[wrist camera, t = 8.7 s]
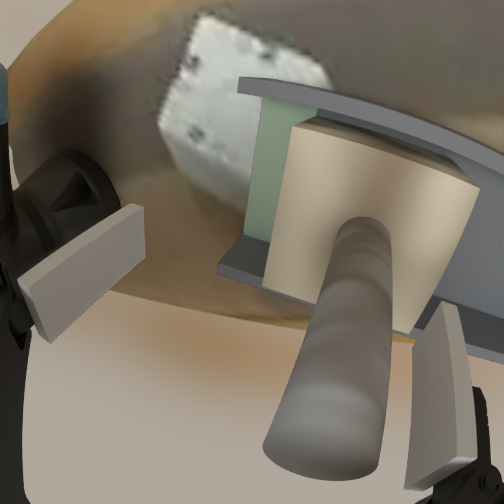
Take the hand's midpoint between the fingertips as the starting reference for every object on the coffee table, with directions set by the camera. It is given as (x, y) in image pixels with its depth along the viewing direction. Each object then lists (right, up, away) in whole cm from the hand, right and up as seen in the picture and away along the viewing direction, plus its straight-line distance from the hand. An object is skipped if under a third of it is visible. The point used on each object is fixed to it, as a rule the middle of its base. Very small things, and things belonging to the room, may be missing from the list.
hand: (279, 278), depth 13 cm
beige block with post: (+7, +5, +9) cm, 13 cm away
